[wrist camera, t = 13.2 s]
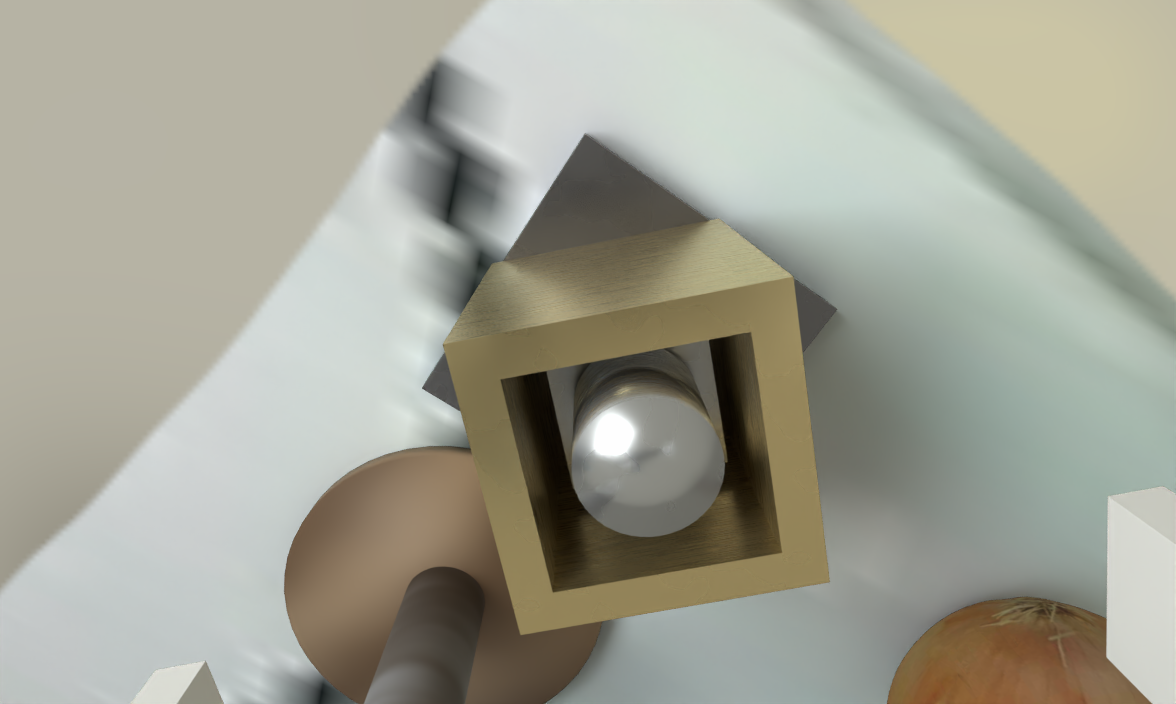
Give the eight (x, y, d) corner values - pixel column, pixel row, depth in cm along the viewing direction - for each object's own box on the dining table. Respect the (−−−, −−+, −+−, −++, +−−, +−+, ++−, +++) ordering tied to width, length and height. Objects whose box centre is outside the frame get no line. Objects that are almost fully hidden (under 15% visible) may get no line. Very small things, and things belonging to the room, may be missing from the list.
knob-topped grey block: (427, 378, 27) (340, 525, 17) (585, 133, 24) (585, 145, 15) (658, 518, 28) (696, 721, 19) (827, 302, 26) (969, 411, 16)
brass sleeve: (540, 467, 27) (520, 635, 18) (492, 263, 25) (442, 344, 16) (749, 429, 26) (829, 582, 18) (718, 218, 24) (793, 276, 16)
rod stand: (238, 625, 30) (37, 923, 19) (388, 385, 27) (254, 573, 16) (498, 759, 32) (454, 1098, 21) (664, 550, 29) (714, 818, 18)
